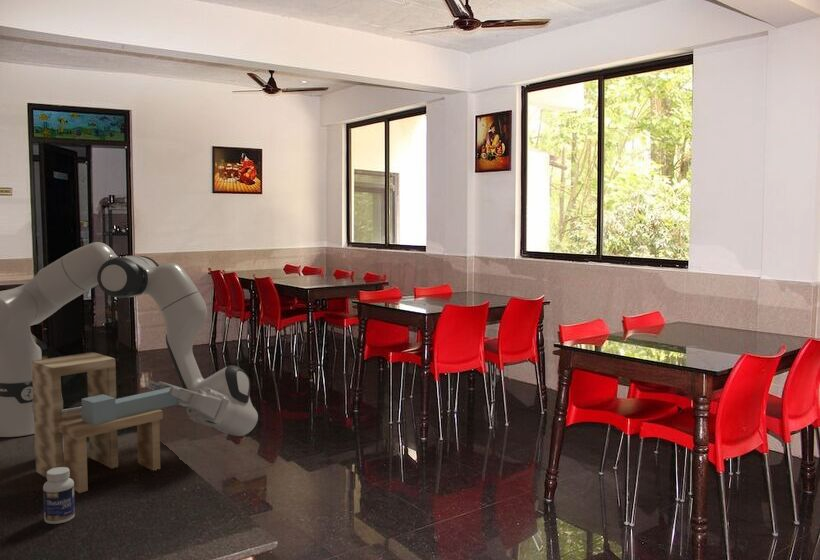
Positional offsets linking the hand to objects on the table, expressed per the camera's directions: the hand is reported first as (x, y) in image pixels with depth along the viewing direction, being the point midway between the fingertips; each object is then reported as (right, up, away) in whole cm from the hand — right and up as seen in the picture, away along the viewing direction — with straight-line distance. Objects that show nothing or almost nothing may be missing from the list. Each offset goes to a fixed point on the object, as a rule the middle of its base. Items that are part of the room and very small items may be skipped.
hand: (160, 387), depth 163 cm
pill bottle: (-9, -21, -29) cm, 37 cm away
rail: (-4, -5, -5) cm, 8 cm away
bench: (-8, -19, -7) cm, 22 cm away
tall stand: (-18, -19, -3) cm, 26 cm away
